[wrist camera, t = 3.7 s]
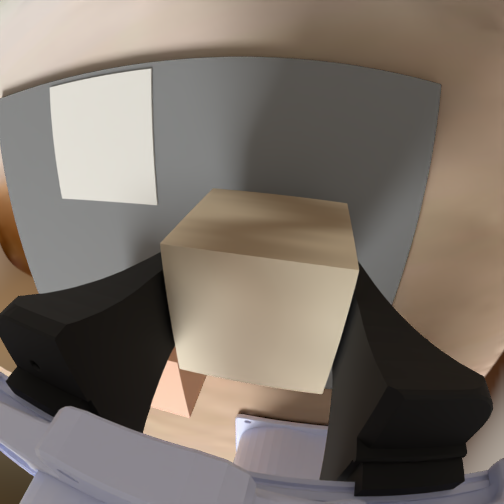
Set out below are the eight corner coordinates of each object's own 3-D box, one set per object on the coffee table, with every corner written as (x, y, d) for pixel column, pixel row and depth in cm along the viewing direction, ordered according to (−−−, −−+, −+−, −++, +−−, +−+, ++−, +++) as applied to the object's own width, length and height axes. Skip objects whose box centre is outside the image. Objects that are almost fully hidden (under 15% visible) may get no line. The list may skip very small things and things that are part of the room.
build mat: (437, 84, 10) (442, 84, 9) (355, 385, 19) (356, 392, 18) (1, 98, 14) (-6, 100, 13) (54, 319, 23) (50, 323, 22)
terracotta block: (207, 301, 17) (177, 362, 13) (212, 360, 19) (189, 417, 16) (128, 285, 18) (87, 336, 14) (142, 344, 20) (113, 393, 16)
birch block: (347, 203, 11) (359, 270, 7) (326, 311, 14) (322, 394, 10) (212, 188, 12) (159, 243, 8) (215, 294, 14) (179, 368, 11)
